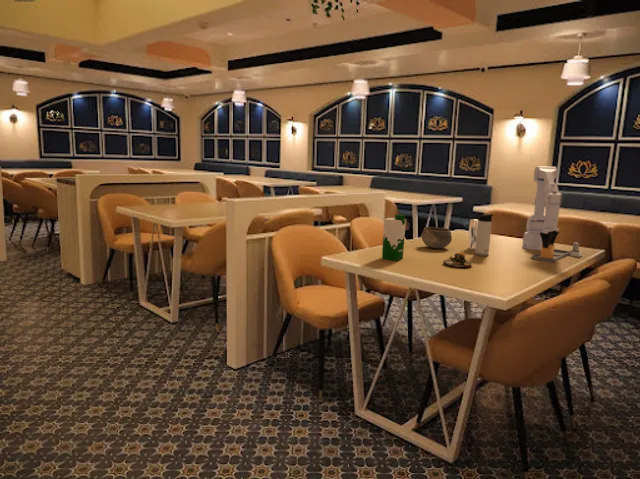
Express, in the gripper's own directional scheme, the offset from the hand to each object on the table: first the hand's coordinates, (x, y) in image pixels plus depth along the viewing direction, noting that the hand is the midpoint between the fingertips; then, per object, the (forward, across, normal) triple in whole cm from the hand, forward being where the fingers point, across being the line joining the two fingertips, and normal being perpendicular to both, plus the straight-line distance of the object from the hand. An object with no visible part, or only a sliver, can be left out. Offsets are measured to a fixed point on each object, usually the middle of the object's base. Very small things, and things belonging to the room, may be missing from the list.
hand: (547, 246), depth 236 cm
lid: (+6, 0, 0) cm, 6 cm away
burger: (+6, -50, +22) cm, 55 cm away
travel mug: (+6, -17, +25) cm, 31 cm away
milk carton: (+6, -61, +48) cm, 77 cm away
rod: (+6, +19, -8) cm, 22 cm away
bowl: (+6, -18, +49) cm, 52 cm away
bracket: (+6, +19, -8) cm, 22 cm away
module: (+5, 0, 0) cm, 5 cm away
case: (+6, +14, 0) cm, 16 cm away
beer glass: (+6, -3, +35) cm, 36 cm away
